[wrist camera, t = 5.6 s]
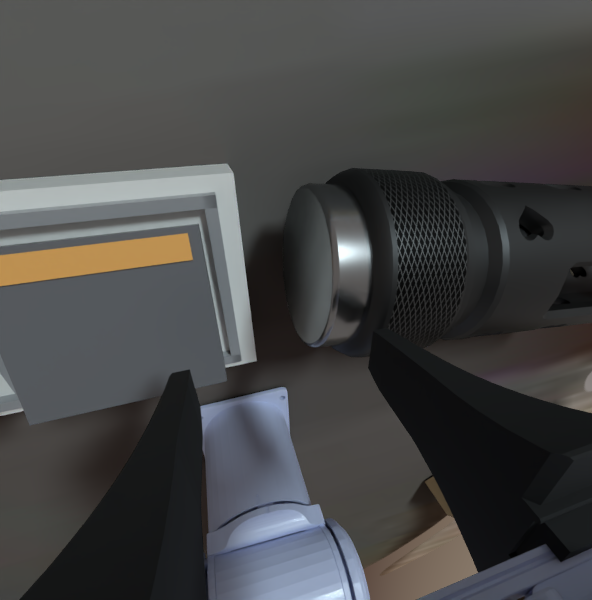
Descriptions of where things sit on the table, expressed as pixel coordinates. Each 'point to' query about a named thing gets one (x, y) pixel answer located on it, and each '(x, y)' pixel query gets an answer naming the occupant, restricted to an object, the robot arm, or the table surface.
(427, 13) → the table surface
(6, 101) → the table surface
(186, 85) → the table surface
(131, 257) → the rocker
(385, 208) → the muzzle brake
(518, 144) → the table surface
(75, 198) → the switch panel
